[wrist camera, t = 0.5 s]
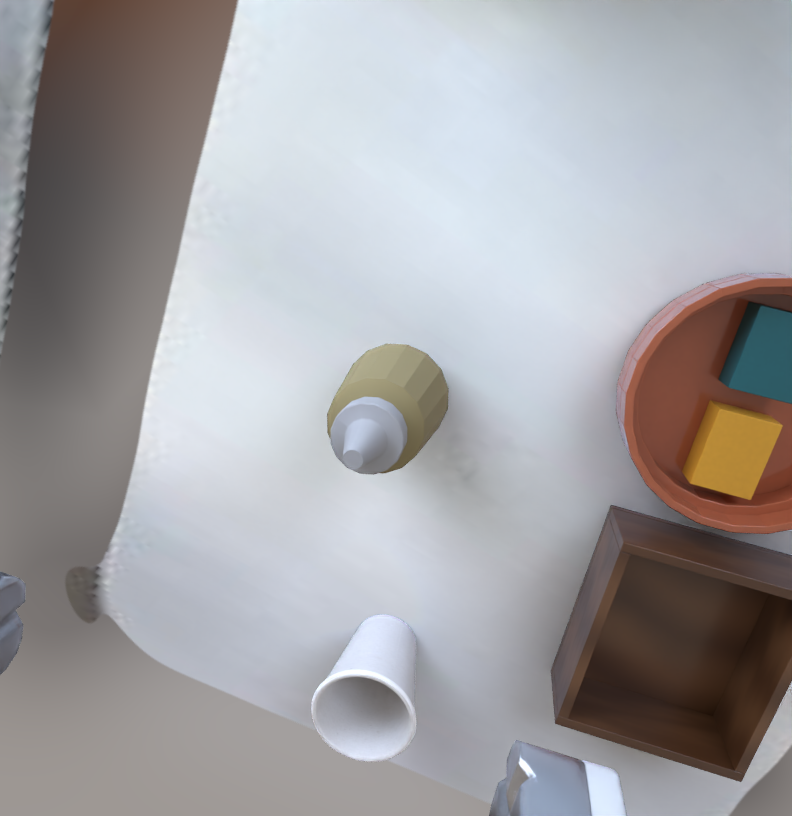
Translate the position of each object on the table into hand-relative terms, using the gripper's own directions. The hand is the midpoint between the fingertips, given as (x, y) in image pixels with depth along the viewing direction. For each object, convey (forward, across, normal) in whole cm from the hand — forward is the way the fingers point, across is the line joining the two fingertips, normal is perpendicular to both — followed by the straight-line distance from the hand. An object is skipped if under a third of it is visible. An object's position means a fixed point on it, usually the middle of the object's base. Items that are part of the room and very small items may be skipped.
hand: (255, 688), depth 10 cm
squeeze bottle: (+44, +3, +7) cm, 45 cm away
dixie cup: (+44, -1, +30) cm, 53 cm away
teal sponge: (+43, -22, -3) cm, 49 cm away
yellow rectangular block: (+43, -22, +4) cm, 49 cm away
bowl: (+44, -22, 0) cm, 49 cm away
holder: (+44, -23, +20) cm, 53 cm away
